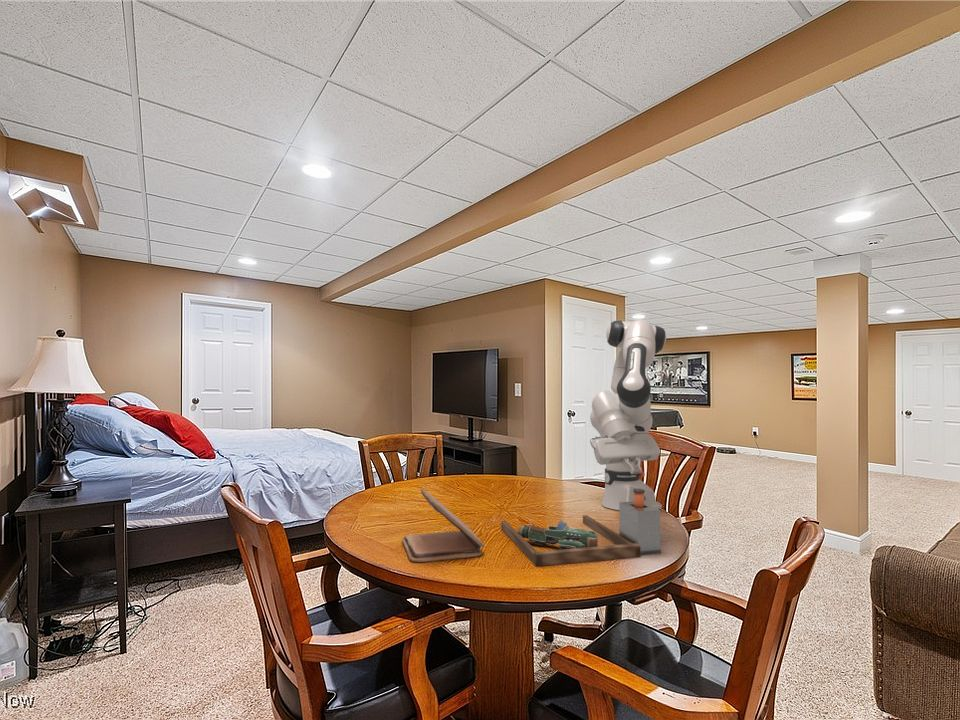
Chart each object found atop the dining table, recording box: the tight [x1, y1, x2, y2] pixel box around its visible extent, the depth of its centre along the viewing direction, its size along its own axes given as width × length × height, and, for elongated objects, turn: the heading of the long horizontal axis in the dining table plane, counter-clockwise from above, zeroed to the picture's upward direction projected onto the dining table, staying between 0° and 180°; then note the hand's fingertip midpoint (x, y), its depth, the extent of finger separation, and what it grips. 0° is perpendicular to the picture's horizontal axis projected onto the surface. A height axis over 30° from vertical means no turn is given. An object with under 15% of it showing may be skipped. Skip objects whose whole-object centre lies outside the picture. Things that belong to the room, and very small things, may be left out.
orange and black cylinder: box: [633, 489, 645, 508], centre depth 141 cm, size 3×3×8 cm
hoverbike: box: [516, 519, 599, 550], centre depth 140 cm, size 10×25×8 cm, turn 61°
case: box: [401, 488, 485, 563], centre depth 140 cm, size 20×21×16 cm
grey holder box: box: [618, 502, 662, 556], centre depth 140 cm, size 7×10×12 cm
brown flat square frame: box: [500, 514, 642, 567], centre depth 145 cm, size 30×32×3 cm
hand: (636, 472), depth 142 cm, fingers closed
